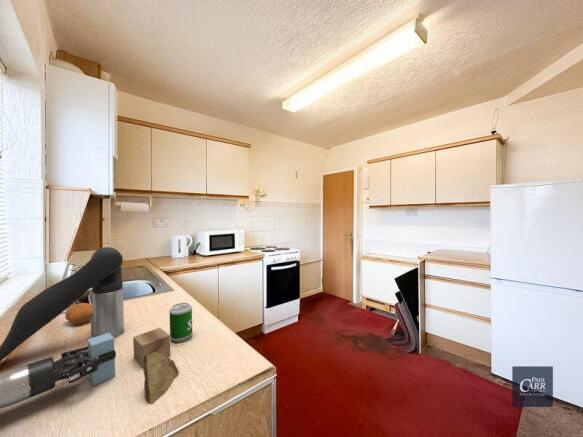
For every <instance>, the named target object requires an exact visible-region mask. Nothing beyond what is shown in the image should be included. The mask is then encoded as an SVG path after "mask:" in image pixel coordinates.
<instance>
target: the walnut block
mask: <svg viewBox="0 0 583 437" xmlns="http://www.w3.org/2000/svg"><path fill="white" fill-rule="evenodd" d="M132 343H133V359H134V360H135V362H137V363H138V366H140V367H141V369H143V357H144V356H146V355H149V354H151V353H155V352H158V353H166V354H167V356H168V357H169V358H170V357H171V338H170V333H168V332H166V331H165V330H164V329H162V328H161V327H158V328H155V329H152V330H149V331H147V332H143V333H141V334H137V335H134V336H132Z"/></svg>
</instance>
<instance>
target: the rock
mask: <svg viewBox="0 0 583 437" xmlns="http://www.w3.org/2000/svg"><path fill="white" fill-rule="evenodd" d="M142 370H143V375H144V384H143V387H144V388H143V390H144V391H143V392H144V394H143V395H144V398H145V401H146V402H147V403H148V404H150V405H153V404H154V403H155V401H156V400H158V399H159V398H160V397H162V395H164V394H165V393H166V392H167V390H168V389H169V387H170V386H171V384H172V383H173V382H174V379H175V378H176V377H177V376H178V375H179V373H180V371H179V369H178V366H177V365H176V363H175V362H174V360H172V359H171V358H170V357H168V356H167V354H166V353H158V352H155V353H151V354H149V355H146V356H144V357H143V368H142Z"/></svg>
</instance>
